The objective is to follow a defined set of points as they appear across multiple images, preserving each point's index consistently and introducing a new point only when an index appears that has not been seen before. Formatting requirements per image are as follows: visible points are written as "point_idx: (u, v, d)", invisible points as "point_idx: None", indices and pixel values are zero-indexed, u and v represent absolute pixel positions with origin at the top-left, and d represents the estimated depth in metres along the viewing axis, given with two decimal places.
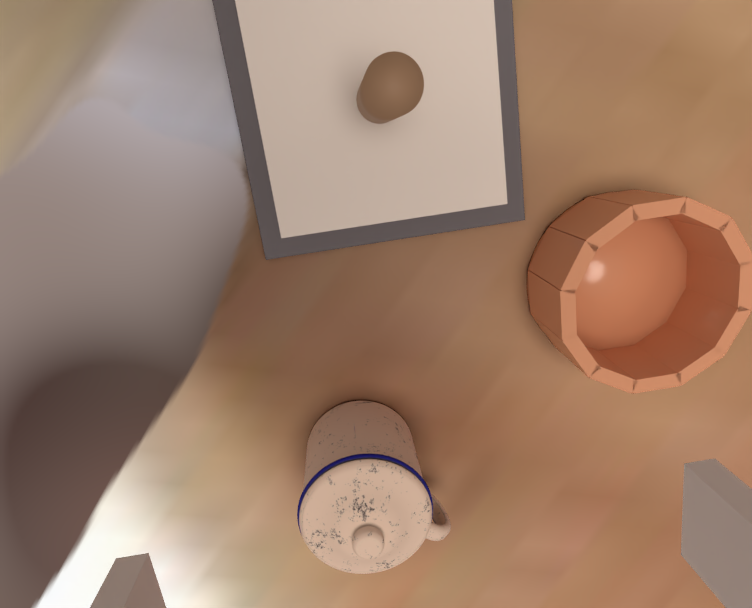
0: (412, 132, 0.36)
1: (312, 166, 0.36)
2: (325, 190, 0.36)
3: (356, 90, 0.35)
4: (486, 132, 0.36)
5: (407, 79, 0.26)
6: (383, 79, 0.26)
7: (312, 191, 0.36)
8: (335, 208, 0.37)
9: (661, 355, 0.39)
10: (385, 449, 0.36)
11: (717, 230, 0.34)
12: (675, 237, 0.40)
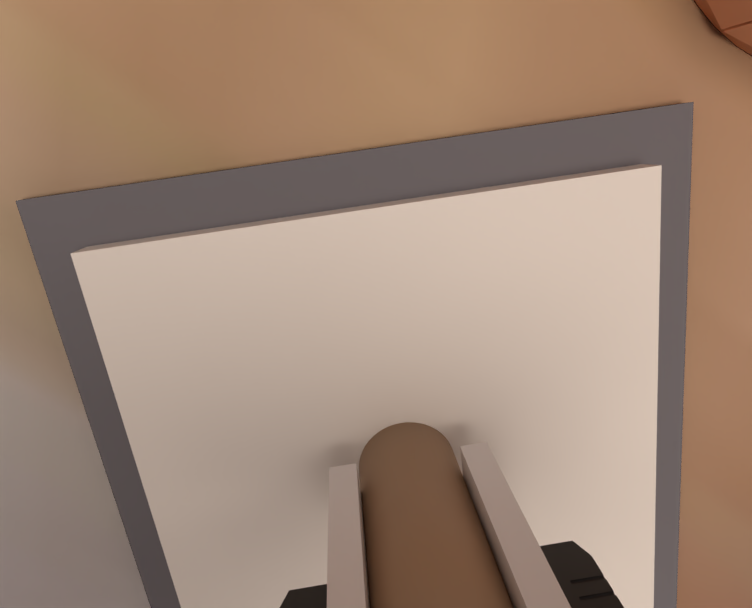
0: (475, 398, 0.16)
1: None
2: None
3: None
4: (485, 232, 0.15)
5: None
6: None
7: None
8: (612, 535, 0.18)
9: None
10: None
11: None
12: None
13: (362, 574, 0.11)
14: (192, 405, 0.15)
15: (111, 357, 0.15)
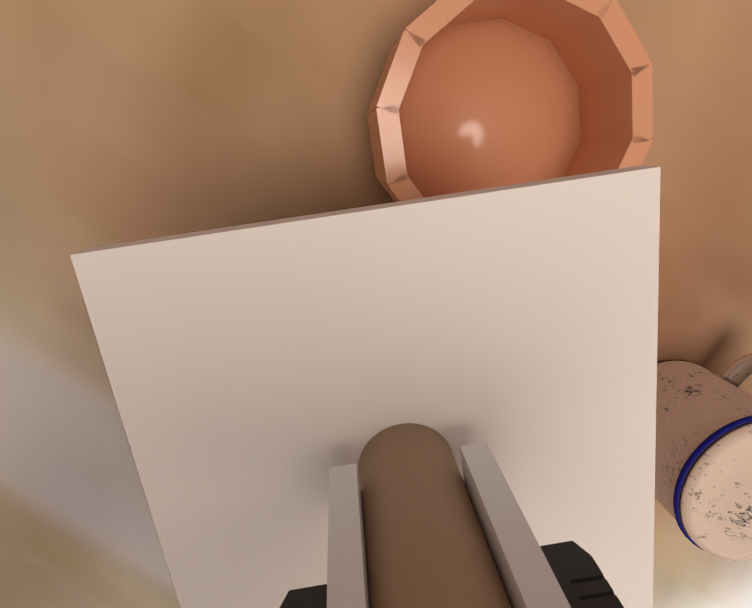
0: (474, 399, 0.16)
1: None
2: None
3: None
4: (484, 233, 0.15)
5: None
6: None
7: None
8: (611, 535, 0.18)
9: (600, 72, 0.27)
10: (673, 457, 0.30)
11: (422, 45, 0.24)
12: (430, 47, 0.29)
13: (362, 574, 0.11)
14: (192, 406, 0.16)
15: (111, 358, 0.15)
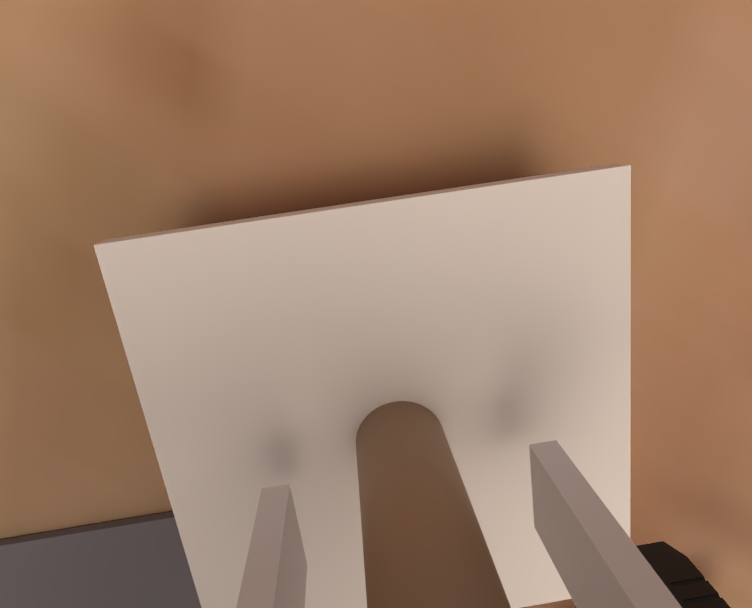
0: (462, 379, 0.18)
1: (512, 545, 0.20)
2: None
3: None
4: (470, 226, 0.16)
5: None
6: None
7: None
8: None
9: None
10: None
11: None
12: None
13: (271, 607, 0.10)
14: (203, 384, 0.17)
15: (129, 340, 0.16)
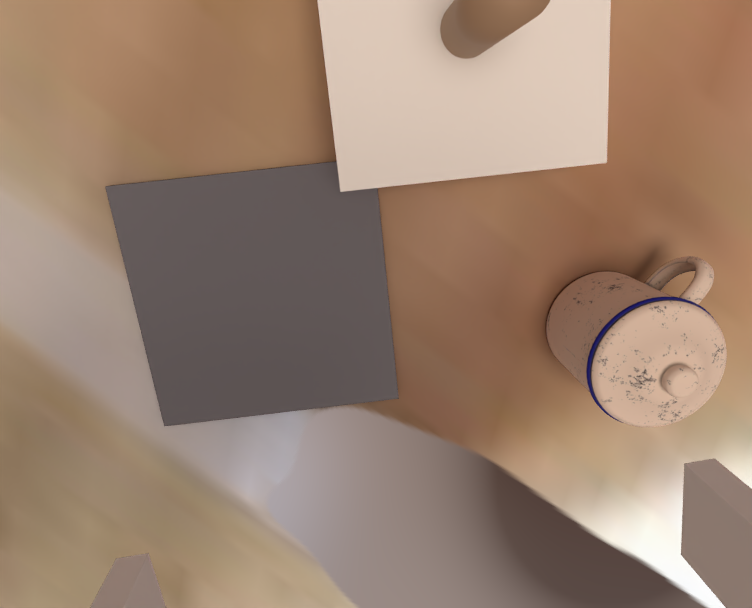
0: None
1: (532, 118, 0.31)
2: (561, 104, 0.31)
3: (455, 57, 0.30)
4: None
5: None
6: None
7: (560, 121, 0.31)
8: (583, 93, 0.31)
9: None
10: (589, 336, 0.35)
11: None
12: None
13: None
14: None
15: None
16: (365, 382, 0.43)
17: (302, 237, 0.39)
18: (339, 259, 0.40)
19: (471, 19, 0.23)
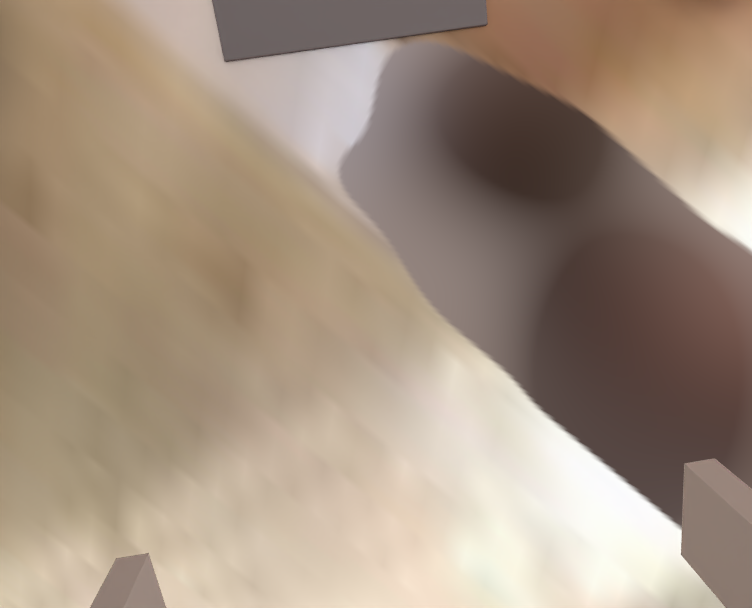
0: None
1: None
2: None
3: None
4: None
5: None
6: None
7: None
8: None
9: None
10: None
11: None
12: None
13: None
14: None
15: None
16: (450, 1, 0.38)
17: None
18: None
19: None
